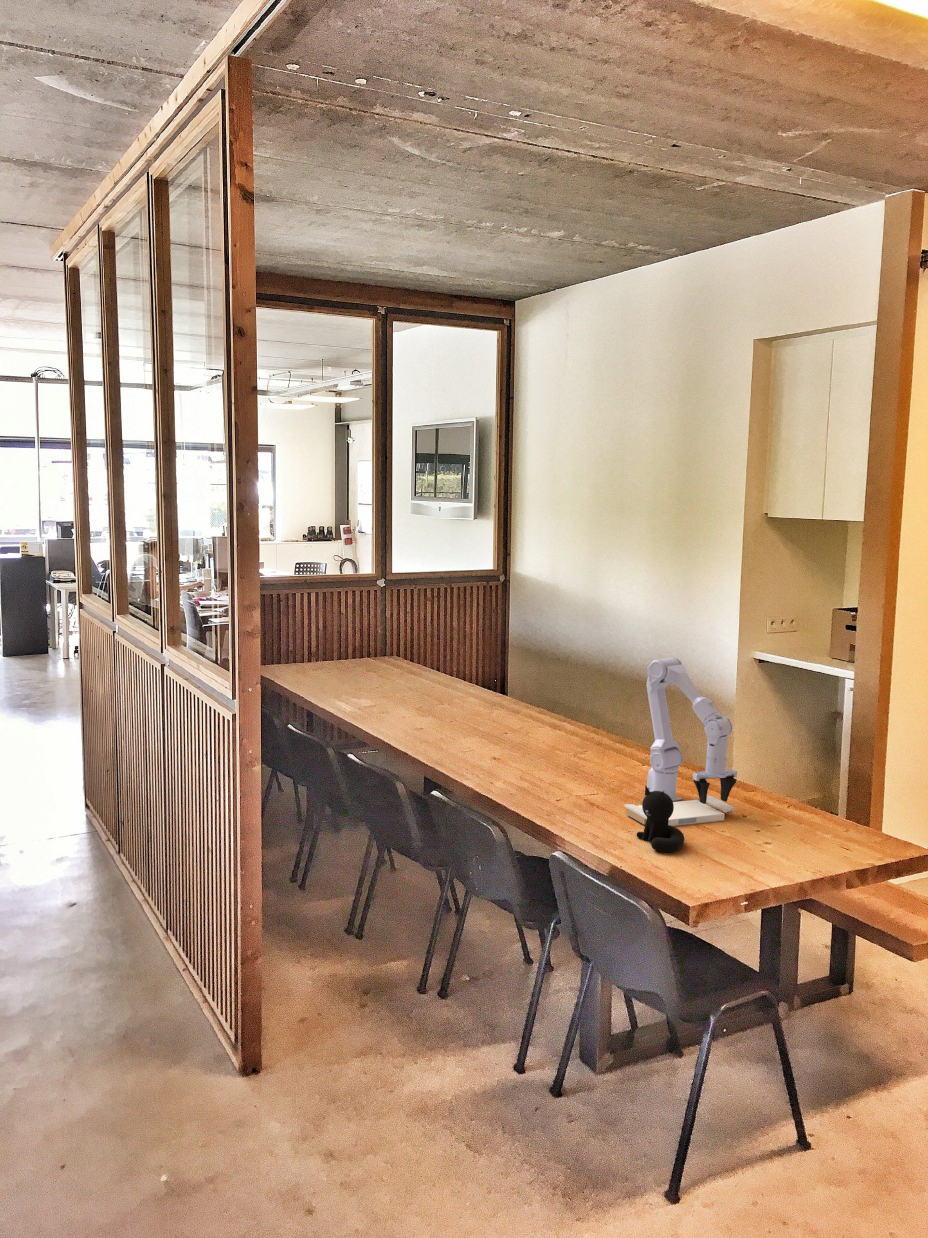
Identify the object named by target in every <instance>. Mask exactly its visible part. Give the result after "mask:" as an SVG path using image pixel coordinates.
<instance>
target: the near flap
mask: <svg viewBox="0 0 928 1238" xmlns="http://www.w3.org/2000/svg"><path fill="white" fill-rule="evenodd" d="M638 806H639V805H635V804H634V803H633V804H632V803H631V804H629V803H627V804H624V803H623V807H624V808H625V814H626V815H627V816H629V817H631V818H632V819H633V820H636V821H637V822H639V823H640V824H642V825H644V826H645V824H646V821H647V816H646V815H645V814H644V812H643V809H641V808H640V807H638Z"/></svg>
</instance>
